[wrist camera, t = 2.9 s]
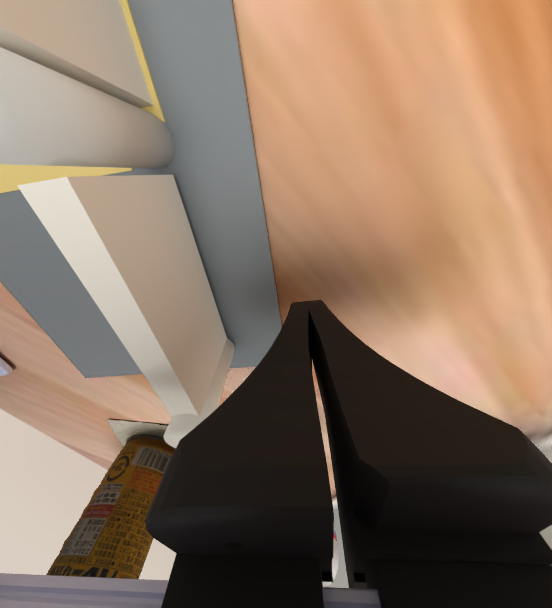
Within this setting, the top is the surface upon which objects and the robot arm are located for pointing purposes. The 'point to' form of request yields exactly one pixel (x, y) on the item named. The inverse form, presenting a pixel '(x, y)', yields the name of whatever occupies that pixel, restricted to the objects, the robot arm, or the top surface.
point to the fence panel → (144, 282)
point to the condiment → (118, 509)
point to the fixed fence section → (75, 88)
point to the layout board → (191, 185)
